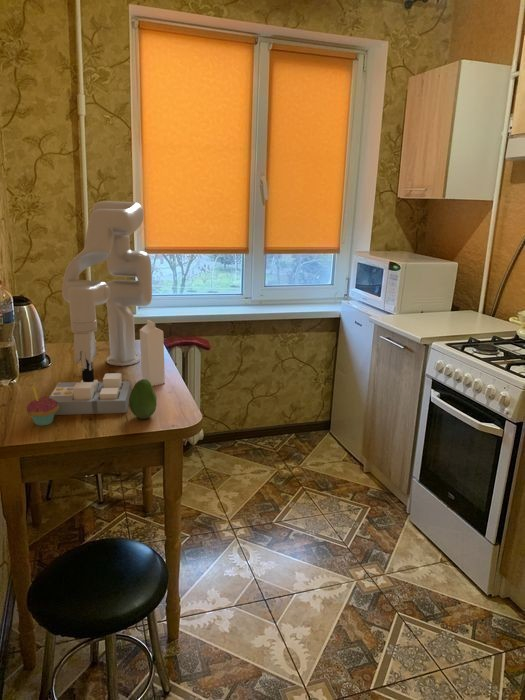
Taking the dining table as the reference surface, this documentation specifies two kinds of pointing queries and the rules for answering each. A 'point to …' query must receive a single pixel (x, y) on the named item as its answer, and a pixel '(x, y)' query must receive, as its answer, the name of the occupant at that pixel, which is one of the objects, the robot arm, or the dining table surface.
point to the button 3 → (112, 380)
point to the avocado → (142, 399)
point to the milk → (152, 354)
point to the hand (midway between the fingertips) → (88, 381)
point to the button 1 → (83, 391)
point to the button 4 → (109, 393)
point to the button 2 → (94, 384)
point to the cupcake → (42, 409)
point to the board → (94, 406)
